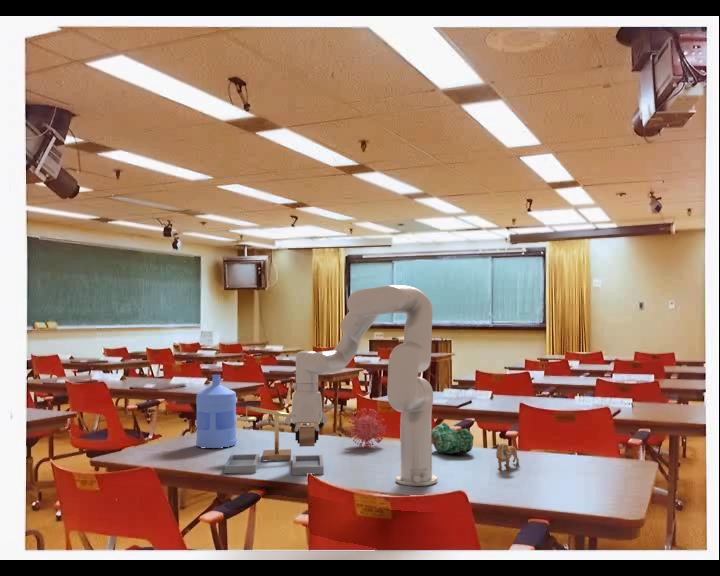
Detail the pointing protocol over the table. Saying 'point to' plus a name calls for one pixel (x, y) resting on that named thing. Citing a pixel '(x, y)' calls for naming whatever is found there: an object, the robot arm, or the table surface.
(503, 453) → the lion figurine
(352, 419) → the virus model
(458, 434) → the mineral
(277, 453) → the balance
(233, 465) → the dish high side
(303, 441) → the walnut block
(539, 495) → the table surface
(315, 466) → the dish low side
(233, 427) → the water jug
